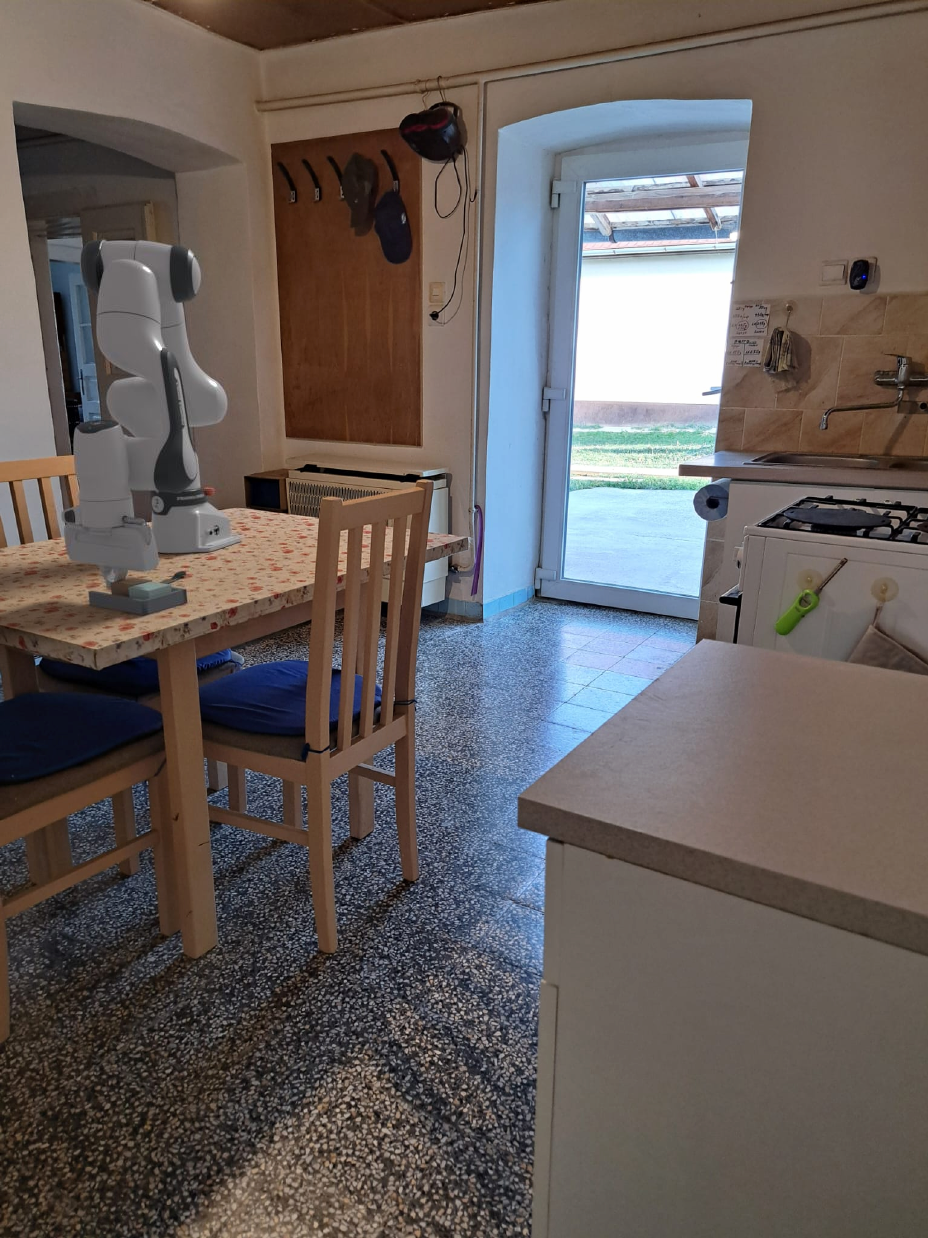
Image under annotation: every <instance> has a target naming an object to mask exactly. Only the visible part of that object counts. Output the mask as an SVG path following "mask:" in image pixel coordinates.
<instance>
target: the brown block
mask: <svg viewBox="0 0 928 1238" xmlns="http://www.w3.org/2000/svg"><path fill="white" fill-rule="evenodd" d="M147 582H153V579H147V578H140V577H135V576H131V577H126V578H125V579H123V580H119V581H115V582H111V583H110V585H111V590H110V591H111V592H110V594H114V595H119V596H125V597H129V588H128V587H132V586H136V585H139V584H143V583H147Z"/></svg>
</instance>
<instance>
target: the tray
mask: <svg viewBox="0 0 928 1238" xmlns="http://www.w3.org/2000/svg"><path fill="white" fill-rule="evenodd" d="M87 595H88V599H89V606H94V607H98V608H103V609H108V610H109V609H110V610H114V611H119V612H125V613H130V614H134V613H135V614H134V615H141V616H149V615H152V614H154V613H158V612H161V611H165V610H168V609H171V608H174V607H177V606H182V605H184V604H187V603H188V594H187V588H181V587H175V586H171V592H170V593H166V594H163V595H159V596H156V597H152V598H149V599H145V600H141V599H136V598H130V597H125V596H119V595H114V594H111V593H108V592H102V591H96V590H89V591H88V593H87ZM151 613H152V614H151Z"/></svg>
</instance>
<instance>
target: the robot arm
mask: <svg viewBox="0 0 928 1238" xmlns="http://www.w3.org/2000/svg"><path fill="white" fill-rule="evenodd" d="M79 269H80V274H81V278H82V280H83V283H84V286H85V288H86V289H87V290H88V291H89V292H91V294H92V295H94V296H97V303H96V304H97V307H96V326H95V327H96V339H97V345H98V348H99V350H100V352H101V353H102V355H103V357H105V358H106V359H107V360H108V361H109V362H110V363H111V364H112V365H113V366H115V367H117V368H119V369H121V370H122V371H125V372H126V373H129V374H132V375H134V376H131V377H127V378H122V379H117V380H114V381H113V382H112V383H111V385H109V388H108V390H107V393H106V400H105V401H106V406H107V409H108V413H109V414H110V415H111V418H113V419H114V420H113V419H94V420H87V421H85V422H84V421H83V422H81V423H79V424H78V425H76V427H75V428H74V431H73V432H74V433H73V463H74V472H75V473H74V474H75V476H76V479H77V480H78V486H79V492H78V496H77V497H78V505H75V506H73V507H69V508H67V509H64V510H62V511H61V514H60V516H61V520H62V523H63V524H65V525H64V527H63V528H64V529H63V536H64V537H63V538H64V543H65V550H66V554H67V556H68V557H69V559H70V560H71V561H72V562H78V563H85V564H91V565H96V566H97V565H98V569H99V572H100V574H101V576H102V578H103V579H104V581H105V586H106V589H107V590H109V591H111V585H110V583H111V582H115V581H119V580H123V579H127V576H128V573H129V571H134V572H141V573H145V572H150V571H154V570H156V569H157V568H158V566H159V564H160V562H159V553H163V554H185V553H186V554H187V553H208V552H213V551H216V550H219V549H223V548H224V547H229V546H231V545H234V544H238V543H239V542H242V541H243V538H242V536H240V535H237V534H234V533H233V532H232V526H231V523H230V519H229V518H228V516H227V515H226V514H224V513H223V512H221V511H220V510H219V509H217V508H216V507H215V506H213V505H212V504H211V503H209V502H208V498H207V496H208V497H213V496H215V494H216V493H215V492H216V491H215V489H214V487H204V488H203V487H202V486H201V477H200V466H199V465H200V464H199V458H198V455H197V452H196V451H195V449H194V444H193V441H192V437H191V431H190V428H193V427H195V428H197V427H204V426H210V425H215V424H218V423H221V421H223V419H224V417H225V416H226V414H227V411H228V397H227V394H226V391H225V389H224V387H222V385H221V384H220V382H218V381H217V380H215V379H213V378H212V377H210V375H208V374H207V373H206V372H204V371H203V369H201V367H200V366H199V365H198V364H197V362H196V360H195V359H194V357H193V354H192V352H191V349H190V344H189V339H188V334H187V327H186V319H185V310H184V304H183V303H187V302H191V301H192V300H193V299H194V298H195V297H197V295H198V292H199V289H200V286H201V282H202V272H201V268H200V265H199V262H198V260H197V256H196V255H195V254H194V252H193V251H192V250H191V249H190V248H188V247H186V246H183V245H179V244H173V245H171V244H166V243H162V242H156V241H149V240H141V239H140V240H107V239H103V238H102V239H95V240H90V241H88V242H87V243H86V244H85V245H84V246H83V248H82V250H81V254H80V260H79ZM122 427H124V428H125V429H126V430H128V432H130V433H131V434H132V435H133V436H134V437H133V436H128V435H126V434H124V431H123V428H122ZM131 490H134V491H148V500H149V504H150V507H151V525H149V523H148V522H147V521H146V520H145V519H144V518H141V517H135V510H134V509H135V508H134V502H133V501H134V499H133V494H132V491H131Z"/></svg>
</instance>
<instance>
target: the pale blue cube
mask: <svg viewBox="0 0 928 1238" xmlns="http://www.w3.org/2000/svg"><path fill="white" fill-rule="evenodd" d="M171 587H172V584H163V583H159V582H157V581H156V582H155V581H152V582H147V583H143V584H139V585H136V586H132V587H128V588H129V597H130V598H136V599H141V600H145V599H149V598H152V597H156V596H159V595H163V594H166V593H170V592H171Z"/></svg>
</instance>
